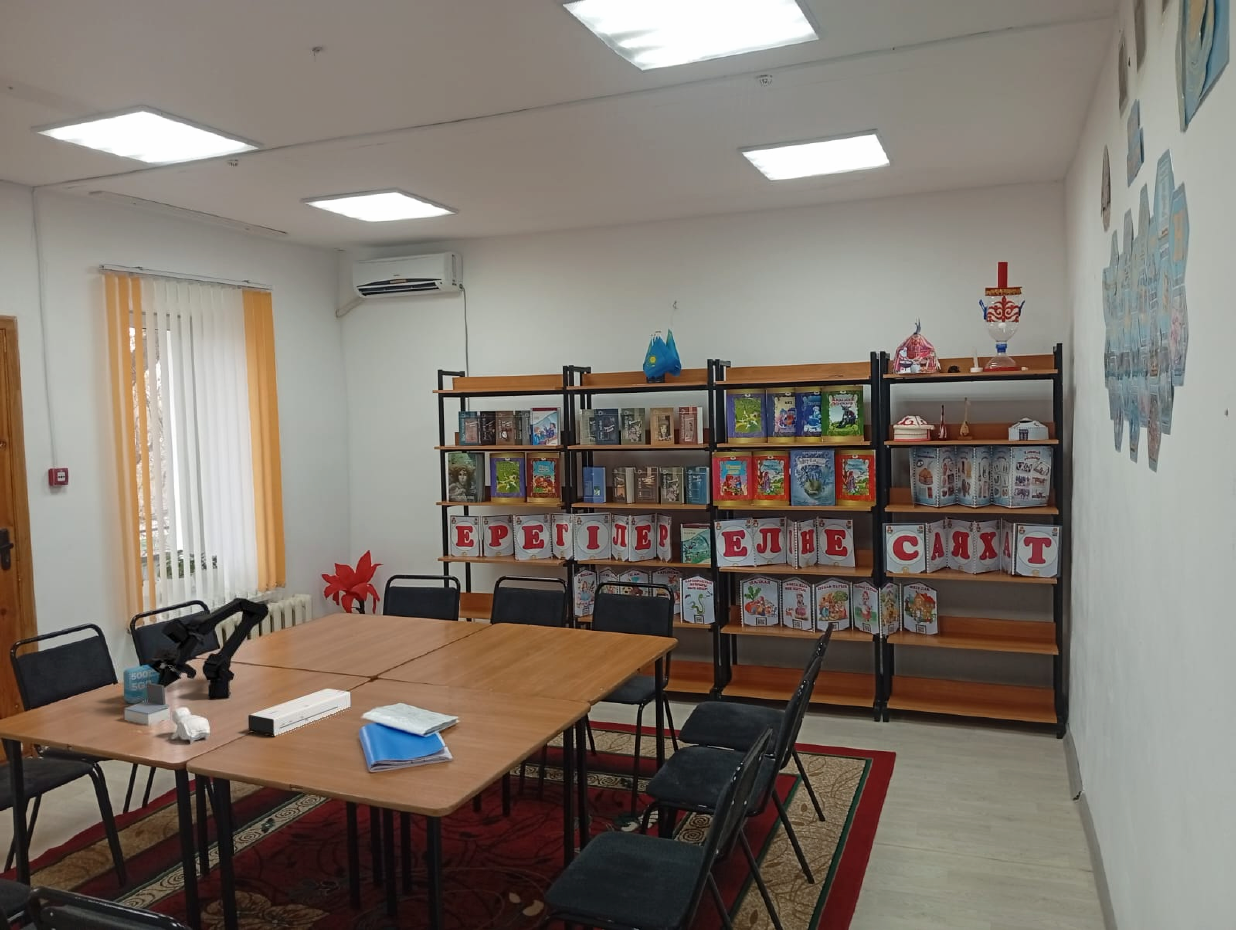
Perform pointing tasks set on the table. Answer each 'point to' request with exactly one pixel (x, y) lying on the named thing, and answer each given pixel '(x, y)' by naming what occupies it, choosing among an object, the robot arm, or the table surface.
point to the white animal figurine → (189, 725)
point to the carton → (148, 716)
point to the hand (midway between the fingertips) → (157, 690)
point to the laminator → (299, 711)
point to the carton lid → (151, 700)
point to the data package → (138, 682)
